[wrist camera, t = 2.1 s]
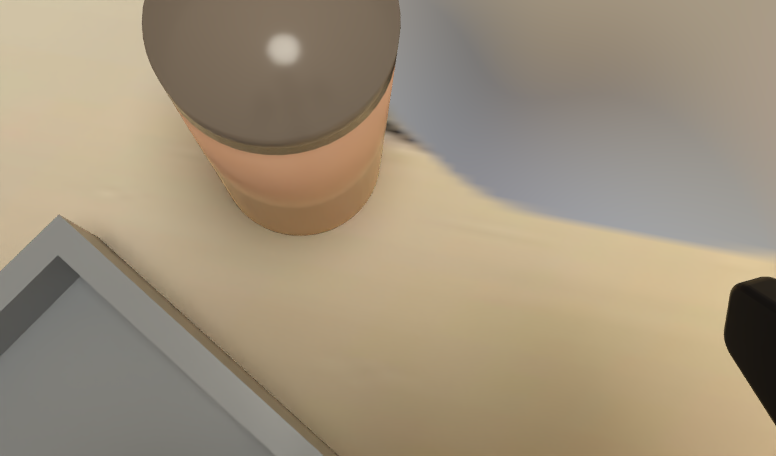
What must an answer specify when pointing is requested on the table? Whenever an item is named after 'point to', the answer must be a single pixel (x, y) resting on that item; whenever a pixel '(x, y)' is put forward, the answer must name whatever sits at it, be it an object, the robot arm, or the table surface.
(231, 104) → the terracotta jar
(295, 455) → the tray
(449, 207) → the table surface
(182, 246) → the table surface
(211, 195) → the table surface
